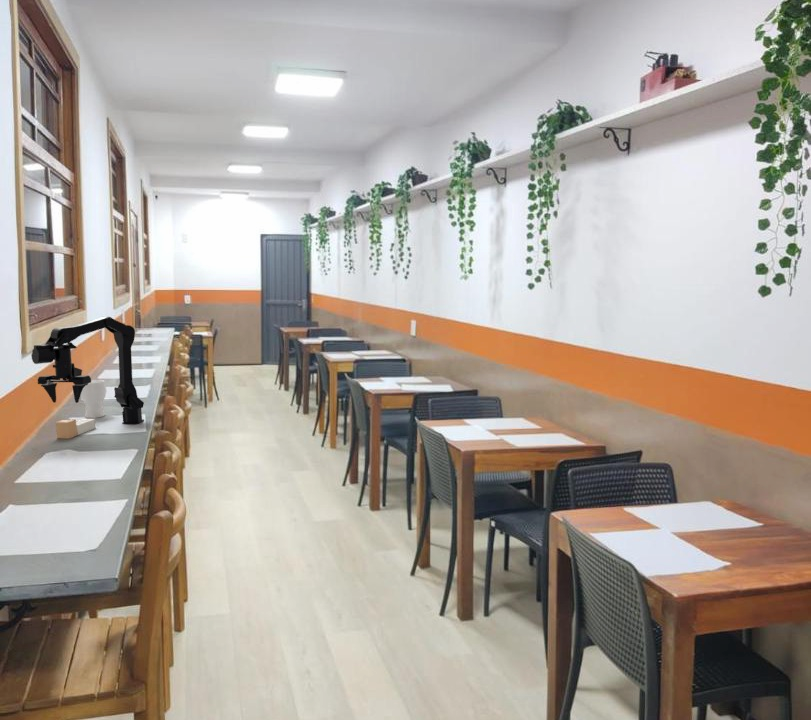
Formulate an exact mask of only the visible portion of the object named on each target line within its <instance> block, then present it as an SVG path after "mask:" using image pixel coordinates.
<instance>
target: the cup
mask: <svg viewBox="0 0 811 720" xmlns="http://www.w3.org/2000/svg"><path fill="white" fill-rule="evenodd" d="M106 394H107V386H106V382H105V380H104V379H91V383H88V385H86V386H85V387H84V388H83V390H82V392H81V395H80V399H81V400H82V402H83V403H84V407H85V416H84V417H85V419H95V418H101V417H105V415H106V414H105V411H104V410H105V409H104V408H103V407H104V400H105V398H106Z"/></svg>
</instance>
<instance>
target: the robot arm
mask: <svg viewBox="0 0 811 720" xmlns="http://www.w3.org/2000/svg"><path fill="white" fill-rule="evenodd" d="M102 329H106V330H107V331H108V332H109V333H112V334H113V339H114V342H115V343H116V345H117V348H118V350H117V351H118V370H119V371H118V374H119V384H118V386H117V387H114V396H113V398H115V400H116V402H117V403H118V404H119V405H120V408H122V413H121V414H122V423H121V424H122V425H123V424H124V425H138V424H140V423H142V422H144V421H145V419H144V418H143V413H142V409H143V408H144V405H145V404H144V401H142V400H141V399H140V397H138V393H137V389H136V386H135V385H134V383H133V382H134V381H133V364H132V363H133V361H132V360H133V359H132V346H133V343H134V342H135V336H136V330H135V328H134V327H133V326H132V325H129V324H125V323H123V322H120V321H118V320H116V319H114V318H113V317H111V316H101V317H99V318H96V319H92V320H90V321H85V322H82V323H79V324H75V325H73V326H72V325H71V326H61V327H54V328H52V330H51V332H50V336H49V338H48V339H47V341H46V342H45V344H42V345H40V344H35V345H33V349H32V352H31V360H32V363H33V364H35V365H39V364H48V363H49V364H50V363H53V361H54V364H52V368H54V371H55V372H54V373H55V374H44V375H40V376H38V378H37V385H40V387H42V388H43V389H44V390H45V392H46V393H47V395H48V396H49V398H50V399H51V401H52V402H53V403H55V404H56V403H57V392H56V391H57V390H56V388H57V385H58V383H73V385H72V391H73V397H74V402H75V403H76V404H77V403H79V401H80V399H81V396H80V395H81V392H82V390H83V388H84V387H85V386H86V385H88V383H91V380H92V377H90V375H84V374H83V375H82V373H83V369H81V368H78V367H75V363H74V362H72V350H74V349H77V345H75V344H74V343H72V341H75V340H76V339H78V338H79V337H81V336H83V335H86V334H89V333H93V332H96V331H98V330H102Z"/></svg>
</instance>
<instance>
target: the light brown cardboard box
mask: <svg viewBox="0 0 811 720" xmlns="http://www.w3.org/2000/svg"><path fill="white" fill-rule="evenodd" d="M76 421H77V420H76V419H73V418H72V419H66V418H65V419H61V420H58V421H56V422H55V432H56V439H71V438H74V437H76V436H78V435H77V427H76Z"/></svg>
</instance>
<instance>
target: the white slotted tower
mask: <svg viewBox="0 0 811 720" xmlns="http://www.w3.org/2000/svg"><path fill="white" fill-rule="evenodd" d="M76 427H77V435H76V436H79V435H81V434H84V433H86V432H89V431H90V430H91V431H92V430H94V429H96V427H97V426H96V419H95V418H82V419H80V420H76Z"/></svg>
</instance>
